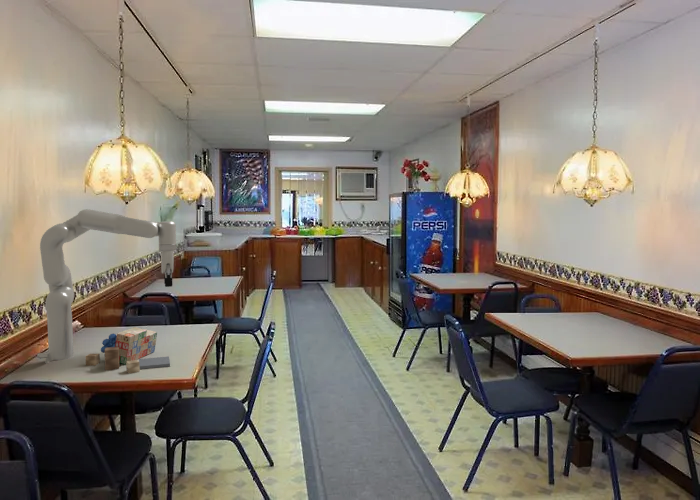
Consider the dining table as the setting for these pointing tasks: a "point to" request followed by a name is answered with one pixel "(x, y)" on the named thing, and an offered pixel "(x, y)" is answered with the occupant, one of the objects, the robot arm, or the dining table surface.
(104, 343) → the grapes
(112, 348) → the walnut block
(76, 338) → the dining table surface
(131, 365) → the maple cube
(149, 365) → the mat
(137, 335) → the stack of blocks
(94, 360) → the oak cube
